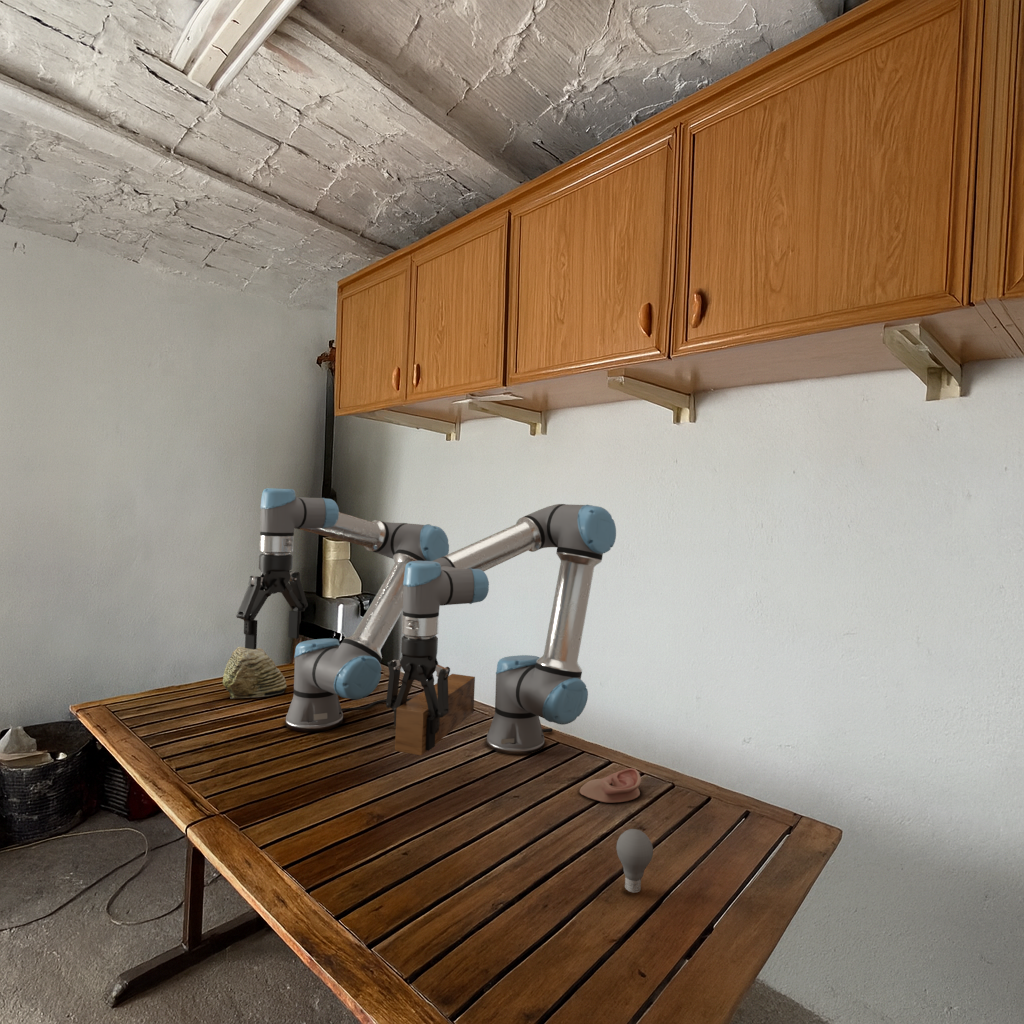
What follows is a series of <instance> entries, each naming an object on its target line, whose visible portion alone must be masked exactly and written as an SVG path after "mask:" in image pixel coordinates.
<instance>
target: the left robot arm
mask: <svg viewBox="0 0 1024 1024" xmlns="http://www.w3.org/2000/svg"><path fill="white" fill-rule="evenodd" d="M296 495H297V494H296V491H295V489H293V488H277V487H276V488H275V487H267V488H264V489H263V490H262V492H261V499H260V505H259V506H260V507H259V509H260V523H259V527H260V528H259V546H258V547H259V550H258V551H259V552H260V554H259V556H258V569H259V570H260V575H259V576H257V575H250V576H249V578H248V585H247V588H246V590H245V592H244V595H243V597H242V600H241V603H240V605H239V608H238V610H237V612H236V614H235V615H236V617H235V618H236V619H240V620H242V621H243V634H244V636H245V637H244V647H245V648H248V649H253V650H254V649H257V646H258V645H257V644H258V643H257V641H258V619H256V617H257V616H258V614H259V613H260V611H261V609H262V607H263V606H264V604H265V603H266V602H267V599H268V598H269V597H271V596H272V595H275V594H277V593H280V594H282V596H283V598H284V599H285V601H286V602H287V604H288V605H289V607H290V608H291V610H288V630H287V631H288V635H287V637H288V638H289V639H290V638H292V639H299V638H300V624H301V622H302V612H305V611H306V608H308V606H309V603H308V601H307V597H306V594H305V590H304V589H303V586H302V582H301V574H300V571H295V570H294V571H293V565H294V555H293V554H291V553H293V552H294V535H295V529H296V530H300V531H305V532H308V533H311V534H315V535H319V536H323V537H327V538H331V539H335V540H339V541H343V542H346V543H350V544H355V545H359V546H362V547H364V549H365V550H366V551H369V552H372V553H375V554H379V555H380V556H384V557H386V558H390V559H392V560H393V562H394V564H393V565H392V567H391V569H390V571H389V573H388V574H387V576H386V578H385V579H384V581H383V583H382V584H381V586H380V588H379V589H378V591H377V592H376V594H375V596H374V598H373V600H372V602H371V603H370V605H369V607H368V608H367V610H366V612H365V613H364V615H363V617H362V618H361V620H360V622H359V624H358V625H357V627H356V628H355V630H354V632H353V634H352V635H350V636H346V637H344V638H343V640H342V641H341V643H340V641H339V639H337V638H317V639H308V640H304V641H300V642H299V643H298V644H297V645H296V646H295V650H294V655H293V657H294V672H293V673H294V674H293V695H292V696H293V697H292V699H291V702H290V704H289V708H288V711H287V713H286V715H285V726H286V728H287V729H289V730H291V731H294V732H295V731H296V732H301V733H316V732H325V731H329V730H332V729H335V728H337V727H339V726H340V725H342V723H343V722H344V713H343V712H346V711H363V710H367V709H369V708H371V707H373V706H374V705H377V704H382V703H386V700H387V699H380V700H376V701H373V702H371V703H370V704H368V705H365V706H361V707H360V706H359V707H343V708H342V706H341V702H340V699H339V697H340V698H343V699H349V700H353V701H355V700H356V701H357V700H362V699H365V698H367V697H368V696H369V695H371V694H372V693H373V692H374V691H375V690H376V688H377V687H378V685H379V683H380V681H381V680H382V679H381V678H382V673H381V672H382V671H383V670H382V666H381V661H382V660H383V657H382V656H383V655H382V652H381V650H382V648H383V647H384V645H385V643H386V641H387V639H388V637H389V636H390V634H391V632H392V630H393V629H394V627H395V625H396V623H397V621H398V620H399V618H400V616H401V614H402V613H403V592H404V585H403V581H404V572H405V567H406V564H407V563H409V562H411V561H434V560H436V559H438V558H441V557H443V556H446V555H448V554H450V553H449V552H450V543H449V538H448V535H447V533H446V532H445V530H444V529H442V528H441V527H439V526H437V525H432V524H420V523H419V524H418V523H408V522H387V521H383V520H379V519H374V520H372V521H370V520H367V519H365V518H364V519H363V518H361V517H357V516H354V515H349V514H347V513H343V512H340V509H339V506H338V503H337V502H336V501H335V500H333V499H332V498H325V497H305V496H304V497H303V496H301V497H300V496H296ZM412 698H413V697H410V698H407V700H406V702H408V701H409V700H411V699H412Z"/></svg>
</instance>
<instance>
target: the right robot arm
mask: <svg viewBox="0 0 1024 1024" xmlns="http://www.w3.org/2000/svg"><path fill="white" fill-rule="evenodd" d="M614 520H615V519H613V516H612V514H611V513H610V512H609V511H608V510H607V509H605V508H604V507H602V506H598V505H591V504H566V503H556V504H552V505H548V506H546V507H543V508H541V509H538V510H535V511H534V512H531V513H529V514H527V515H524V516H522V517H520V518H519V519H518V520H517V521H516V523H515V524H513V525H511V526H509V527H507V528H504V529H502V530H500V531H497V532H496V533H493V534H490V535H489V536H486V537H484V538H482V539H479V540H477V541H475V542H473V543H470V544H469V545H466V546H463V547H462V548H459V549H457V550H455V551H453V552H451V553H448V555H446V556H443V557H441V558H438V559H436V560H434V561H411V562H409V563H407V564H406V567H405V572H404V581H403V585H404V592H403V611H402V622H401V623H402V624H401V625H402V626H401V633H402V636H401V642H400V643H401V645H400V646H401V647H400V653H401V656H400V659H398V658H395V659H393V660H390V661H388V662H387V667H388V668H387V669H388V681H387V682H388V683H387V691H386V699H385V700H386V702H385V706H386V708H387V709H392V711H393V726H394V727H395V728H396V711H397V708H398V707H400V706H401V705H403V704H404V703H406V702H407V701H406V700H407V699H408V697H409V694H410V691H411V688H412V685H413V683H414V681H418V682H420V685H421V687H422V688H423V692H424V693H425V697H426V701H427V705H428V709H429V713H430V717H429V718H427V724H426V748H425V750H427V752H429V751H431V750H432V749H433V748H434V747H436V744H435V734H436V733H437V732H438V731H439V720H440V717H443V716H445V715H446V714H448V712H449V703H448V676H449V675H450V674H451V673H450V672H451V668H450V667H449V666H442V665H440V664H439V662H438V659H437V658H438V657H437V656H438V648H439V647H438V646H439V638H438V636H437V635H438V634H439V622H440V621H439V620H440V619H439V618H440V607H443V606H451V605H452V606H453V605H465V604H469V605H472V604H476V603H481V602H483V601H484V600H485V599H486V598H487V596H488V594H489V592H490V591H489V590H490V589H489V588H490V582H489V578H488V575H487V574H486V571H488V570H490V569H492V568H495V567H496V566H498V565H501V564H503V563H505V562H507V561H509V560H511V559H513V558H515V557H518V556H520V555H522V554H523V553H526V552H531V553H533V552H534V553H535V552H537V551H539V550H541V549H546V548H556V556H557V557H558V558H559V560H560V563H559V570H558V575H557V579H556V580H557V581H556V586H555V592H554V597H553V602H552V608H551V614H550V618H549V624H548V628H547V635H546V640H545V645H544V649H543V654H542V656H537V655H529V654H528V655H527V654H522V655H521V654H519V655H518V654H517V655H510V656H509V655H507V656H504V657H502V658H499V660H498V661H497V663H496V672H495V698H494V699H495V701H494V714H493V718H492V720H491V724H490V726H489V729H488V731H487V734H486V745H487V746H488V748H490V749H491V750H493V751H496V752H498V753H502V754H507V755H531V754H534V753H537V752H539V751H541V750H543V749H544V747H545V735H544V733H552V732H553V731H554V730H553V728H552V727H550V728H543V727H542V723H541V719H540V718H542V719H544V721H547V722H550V723H554V724H556V725H568V724H571V723H572V722H575V720H577V718H578V717H580V716H581V714H582V713H583V711H584V710H585V708H586V706H587V702H588V699H589V690H588V688H587V684H586V683H585V681H583V680H582V674H583V669H582V667H581V665H580V664H579V656H580V650H581V644H582V639H583V633H584V628H585V621H586V616H587V612H588V607H589V606H588V605H589V599H590V593H591V588H592V582H593V578H594V572H595V571H594V570H595V568H596V566H597V565H599V564H601V563H603V562H602V561H603V557H604V556H603V555H604V554H606V553H609V551H611V548H613V547H614V545H615V542H616V539H617V538H616V537H617V527H616V523H615V521H614ZM401 669H402V670H403V672H404V673H403V676H402V678H401ZM435 672H436V677H437V680H436V683H437V691H438V699H437V695H436V691H435V686H434V685H435V678H434V673H435ZM400 678H401V684H400ZM399 686H400V687H399Z"/></svg>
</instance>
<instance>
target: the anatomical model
mask: <svg viewBox="0 0 1024 1024" xmlns="http://www.w3.org/2000/svg"><path fill="white" fill-rule="evenodd" d="M641 783H642V777H641V774H640V772H639V771H638V770H637V769H635V768H632V767H631V768H630V767H629V768H624V769H621V770H618V771H616V772H614V773H611V774H608V775H607V776H605V777H602V778H597V779H591V780H588V781H586V782H585V783H584V784H583V785H582V786H581V787H580V789H579V794H581V795H582V796H584V797H586V798H588V799H591V800H594V801H597V802H601V803H607V804H611V803H613V804H614V803H623V802H629V801H632V800H635V799H637V798H638V797H640V794H641V792H640V789H639V787H640V785H641Z"/></svg>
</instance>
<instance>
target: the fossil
mask: <svg viewBox="0 0 1024 1024" xmlns="http://www.w3.org/2000/svg"><path fill="white" fill-rule="evenodd" d="M222 676H223V677H222V685H223V687H224V688H225V690H226V691H228V693H229V698H230V699H250V698H264V697H271V696H275V695H281V694H284V693H285V691H286V689H287V687H288V686H287V680H286V678H285V676H284V674H283V673H282V672H281V669H279V668H278V667H277V665H276V663H275V662H274V660H273V659H272V658H271V657H270V656H269V655H268V654H267V653H266V652H265V650H264V649H263V648H260V647H258V648H257V647H256V649H254V650H253V649H248V648H245V646H238V647H237V648H236V649H235V650H233V651H232V653H231V656H230V657H229V659H228V660H227V663H226V666H225V668H224V671H223V675H222Z"/></svg>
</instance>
